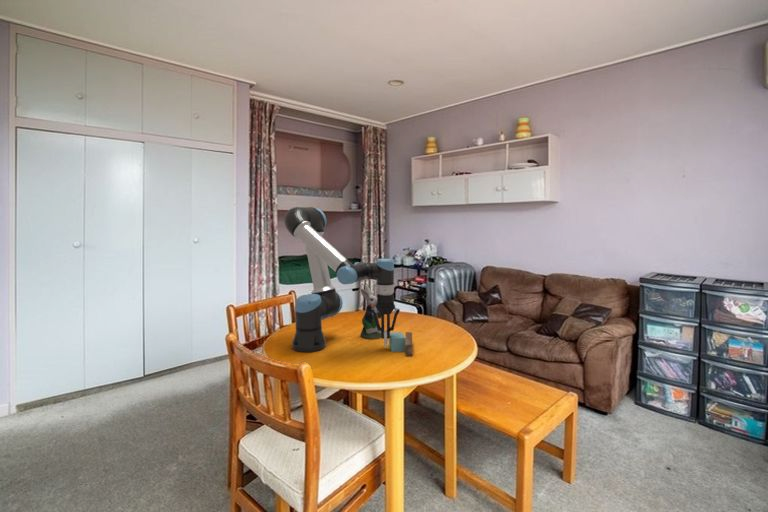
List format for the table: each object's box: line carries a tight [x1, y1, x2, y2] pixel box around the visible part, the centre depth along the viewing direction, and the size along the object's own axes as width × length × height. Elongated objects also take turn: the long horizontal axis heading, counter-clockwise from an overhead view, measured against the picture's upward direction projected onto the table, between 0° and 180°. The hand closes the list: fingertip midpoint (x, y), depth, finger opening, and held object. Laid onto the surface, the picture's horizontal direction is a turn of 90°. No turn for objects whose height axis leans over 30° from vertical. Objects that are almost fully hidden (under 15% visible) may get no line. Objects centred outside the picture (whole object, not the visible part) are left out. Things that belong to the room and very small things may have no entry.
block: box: [388, 331, 406, 353], centre depth 178 cm, size 6×9×6 cm, turn 7°
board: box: [404, 331, 413, 357], centre depth 177 cm, size 3×18×5 cm, turn 176°
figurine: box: [360, 285, 382, 340], centre depth 195 cm, size 11×13×25 cm
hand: (385, 345), depth 177 cm, fingers closed
